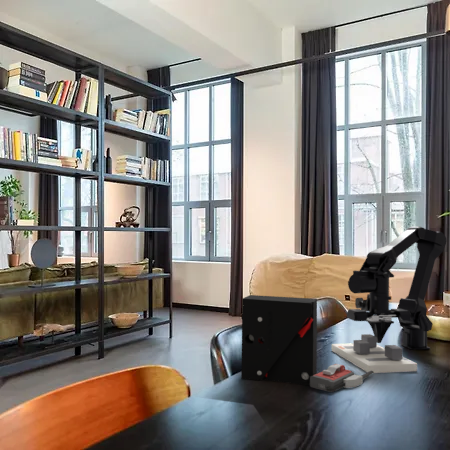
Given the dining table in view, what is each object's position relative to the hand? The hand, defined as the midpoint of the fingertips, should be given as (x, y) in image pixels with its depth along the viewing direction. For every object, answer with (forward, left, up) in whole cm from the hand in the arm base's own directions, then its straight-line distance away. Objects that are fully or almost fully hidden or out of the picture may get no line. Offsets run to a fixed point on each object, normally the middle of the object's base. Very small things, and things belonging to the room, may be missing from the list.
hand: (378, 342), depth 141 cm
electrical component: (+38, +19, -3) cm, 42 cm away
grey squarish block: (+3, +14, -1) cm, 14 cm away
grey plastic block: (+3, 0, -1) cm, 3 cm away
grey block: (+9, +7, -1) cm, 12 cm away
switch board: (+6, +7, -3) cm, 10 cm away
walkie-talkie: (+23, +24, -4) cm, 34 cm away
